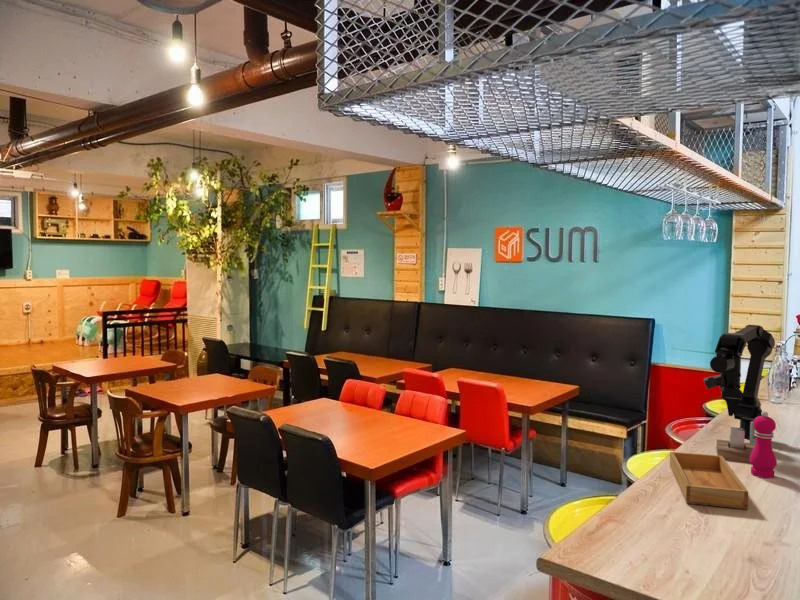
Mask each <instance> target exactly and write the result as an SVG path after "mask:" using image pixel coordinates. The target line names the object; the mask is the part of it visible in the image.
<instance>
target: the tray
mask: <svg viewBox="0 0 800 600" xmlns="http://www.w3.org/2000/svg"><path fill="white" fill-rule="evenodd" d="M726 460H727V459H724V458H723V456H719V455H717V454H716V455H715V454H706V453H705V454H704V453H692V452H681V451H679V452H678V451H670V452H669V467H670V470H671V471H672V474H673V476H674V479H675V480H676V483H677V486H678V487H679V490H680V491H681V494H682V496H683V498H684V501H685V503H686V504H693V505H702V506H712V507H713V506H714V507H720V508H721V507H723V508H733V509H743V510H748V509H749V491H748V489H747V488H746V486H745V485H744V483H743V482H742V481H741V480H740V478H739V477H738V476H737V474H736V473H735V471H734V469H733V468H731V466H730V465H729V463H728V462H727V461H726Z"/></svg>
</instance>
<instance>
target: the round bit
mask: <svg viewBox="0 0 800 600" xmlns="http://www.w3.org/2000/svg"><path fill="white" fill-rule="evenodd" d="M755 430H756V429H755V428H754V426H753V421H750V438H749V443H754V444H756V436H755V435H754V434H755Z"/></svg>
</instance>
